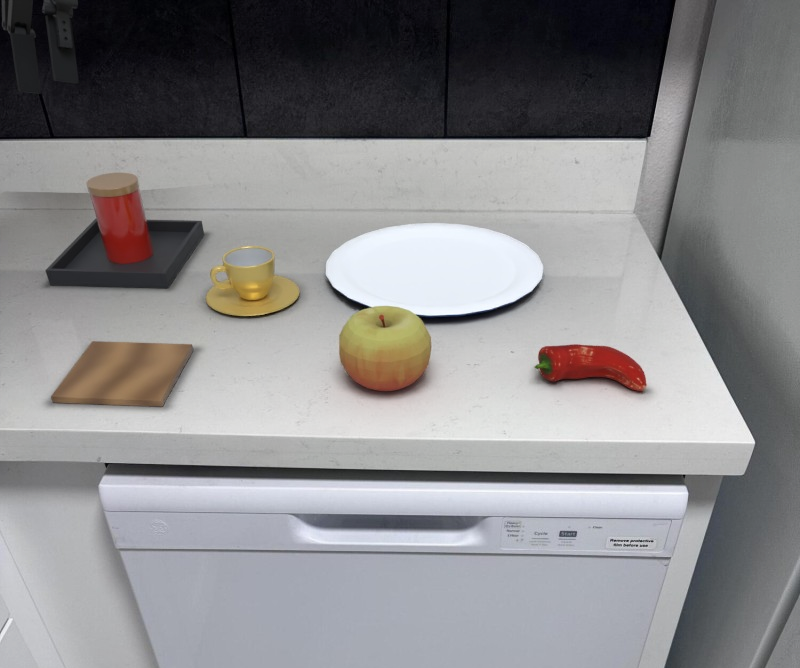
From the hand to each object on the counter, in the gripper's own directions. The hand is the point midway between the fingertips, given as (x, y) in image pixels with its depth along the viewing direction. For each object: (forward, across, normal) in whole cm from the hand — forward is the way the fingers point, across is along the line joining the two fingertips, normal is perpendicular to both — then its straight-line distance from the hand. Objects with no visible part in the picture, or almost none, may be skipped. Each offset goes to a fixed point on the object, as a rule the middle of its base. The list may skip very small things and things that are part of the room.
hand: (47, 87), depth 99 cm
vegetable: (+31, -63, -32) cm, 77 cm away
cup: (+24, -22, -15) cm, 36 cm away
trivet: (+31, -28, +5) cm, 42 cm away
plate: (+22, -33, -37) cm, 54 cm away
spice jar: (+20, 0, -8) cm, 22 cm away
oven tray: (+20, 0, -8) cm, 22 cm away
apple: (+31, -48, -16) cm, 59 cm away
